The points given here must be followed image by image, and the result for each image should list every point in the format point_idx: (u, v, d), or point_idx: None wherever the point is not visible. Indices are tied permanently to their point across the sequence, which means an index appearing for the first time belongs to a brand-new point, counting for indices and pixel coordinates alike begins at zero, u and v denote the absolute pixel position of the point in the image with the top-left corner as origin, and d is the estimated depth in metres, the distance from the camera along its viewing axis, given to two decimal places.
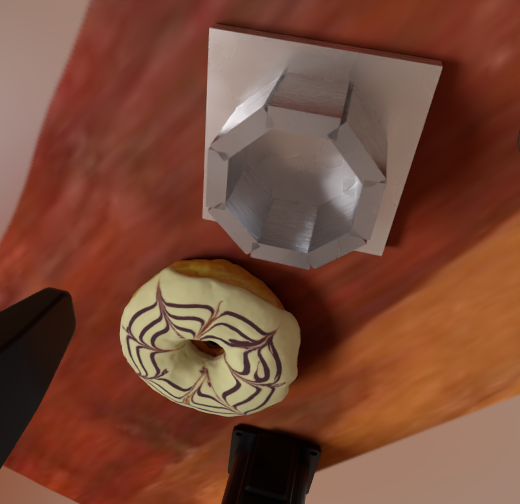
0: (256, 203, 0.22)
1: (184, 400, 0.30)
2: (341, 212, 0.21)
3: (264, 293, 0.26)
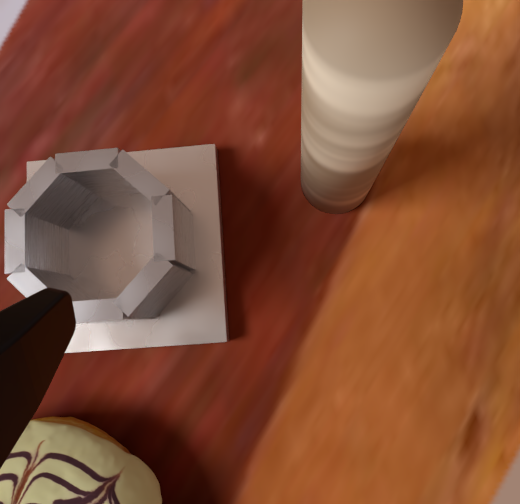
0: (72, 291, 0.21)
1: None
2: None
3: (105, 436, 0.21)
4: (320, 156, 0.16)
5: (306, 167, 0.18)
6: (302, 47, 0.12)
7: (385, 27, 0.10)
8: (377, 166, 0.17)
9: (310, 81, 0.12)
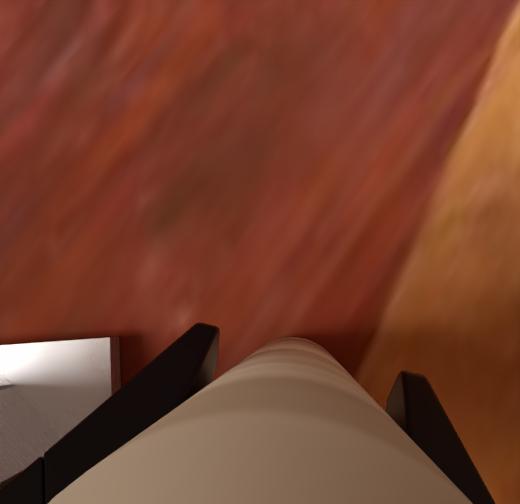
0: None
1: None
2: None
3: None
4: None
5: None
6: None
7: None
8: None
9: None
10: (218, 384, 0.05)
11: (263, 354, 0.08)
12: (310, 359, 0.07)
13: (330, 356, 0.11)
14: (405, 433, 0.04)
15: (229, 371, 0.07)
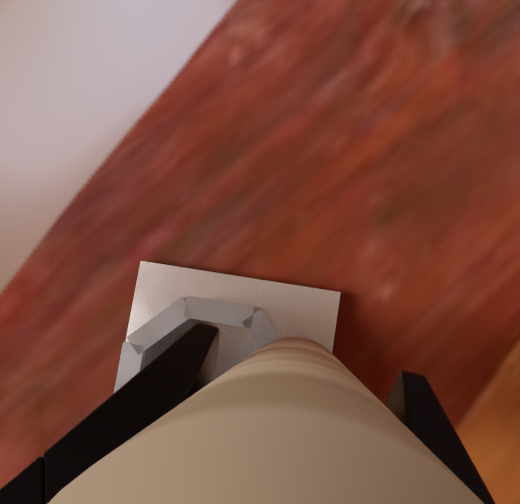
0: None
1: None
2: None
3: None
4: None
5: None
6: None
7: None
8: None
9: None
10: (222, 380, 0.05)
11: (265, 352, 0.08)
12: (313, 357, 0.07)
13: (332, 355, 0.11)
14: None
15: (232, 368, 0.07)
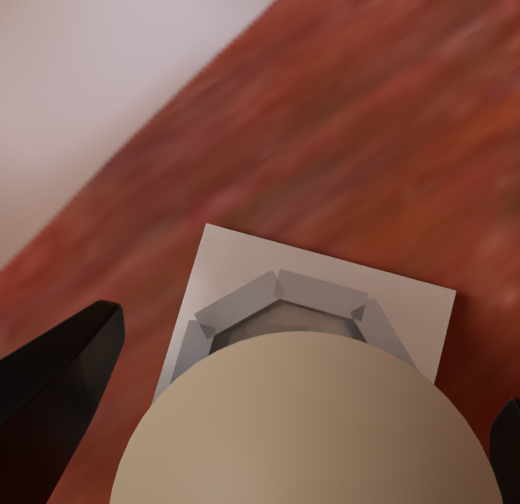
0: None
1: None
2: None
3: None
4: None
5: None
6: None
7: None
8: None
9: None
10: None
11: None
12: None
13: None
14: None
15: None
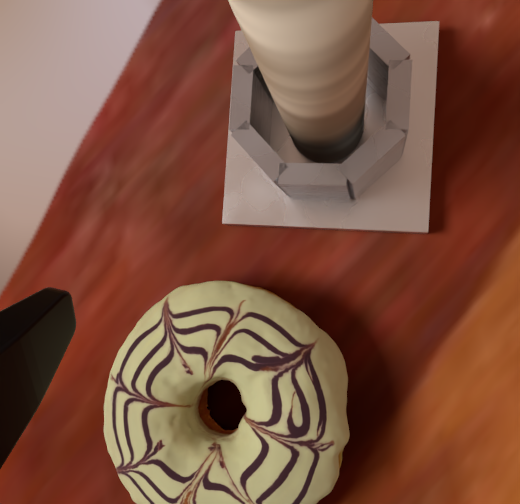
0: None
1: None
2: None
3: (295, 308, 0.21)
4: (290, 106, 0.15)
5: (285, 121, 0.18)
6: None
7: None
8: (355, 101, 0.15)
9: (245, 29, 0.11)
10: None
11: None
12: None
13: None
14: None
15: None
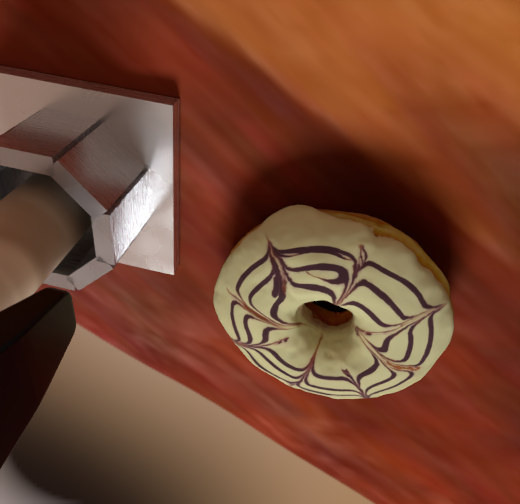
0: None
1: (401, 369, 0.22)
2: None
3: (245, 236, 0.22)
4: None
5: None
6: None
7: None
8: (21, 236, 0.17)
9: None
10: None
11: None
12: None
13: None
14: None
15: None
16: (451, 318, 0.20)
